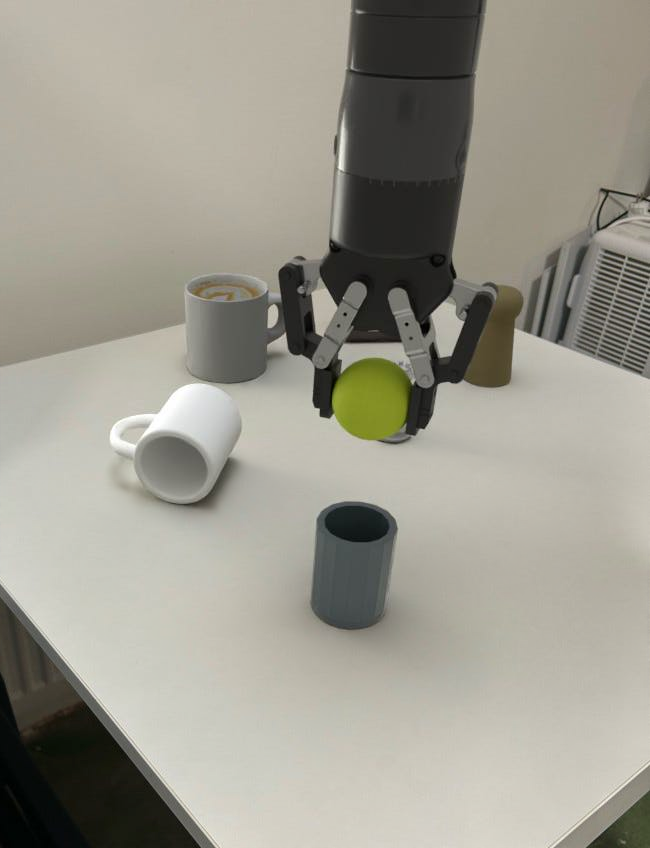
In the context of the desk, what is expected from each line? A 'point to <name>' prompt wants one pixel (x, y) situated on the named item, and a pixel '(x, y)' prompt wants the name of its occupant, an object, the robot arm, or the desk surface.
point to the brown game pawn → (497, 342)
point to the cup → (352, 564)
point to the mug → (182, 443)
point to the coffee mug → (229, 326)
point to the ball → (372, 398)
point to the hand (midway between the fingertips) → (369, 420)
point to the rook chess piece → (401, 434)
